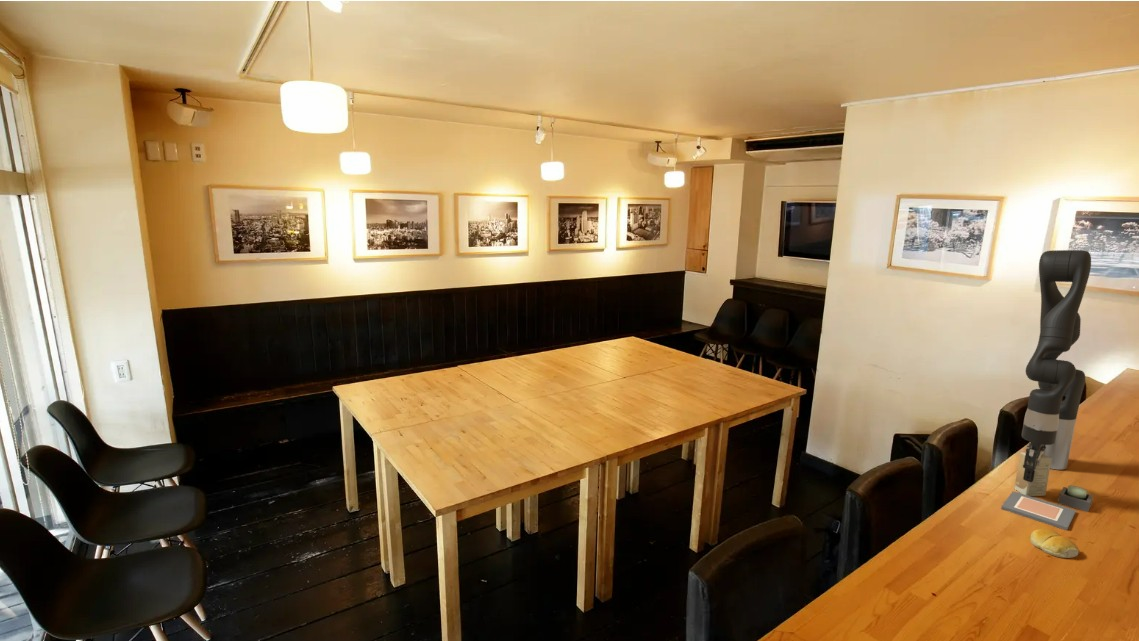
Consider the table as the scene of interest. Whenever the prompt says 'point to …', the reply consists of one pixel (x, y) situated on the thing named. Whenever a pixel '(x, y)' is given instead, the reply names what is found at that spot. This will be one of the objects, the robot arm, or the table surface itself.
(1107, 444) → the table surface
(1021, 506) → the picture board
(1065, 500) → the button housing
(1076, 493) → the button
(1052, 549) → the bread roll
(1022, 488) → the skincare box
